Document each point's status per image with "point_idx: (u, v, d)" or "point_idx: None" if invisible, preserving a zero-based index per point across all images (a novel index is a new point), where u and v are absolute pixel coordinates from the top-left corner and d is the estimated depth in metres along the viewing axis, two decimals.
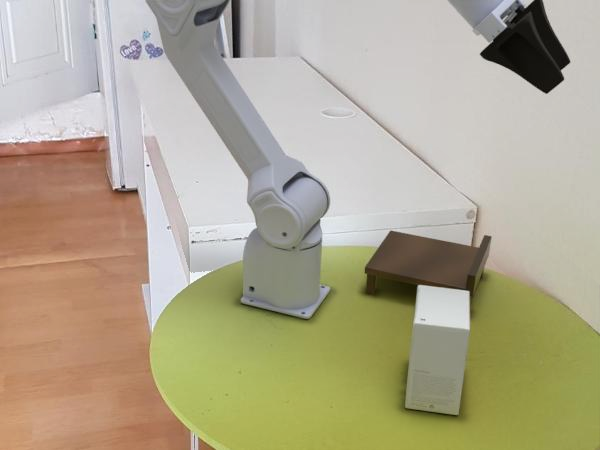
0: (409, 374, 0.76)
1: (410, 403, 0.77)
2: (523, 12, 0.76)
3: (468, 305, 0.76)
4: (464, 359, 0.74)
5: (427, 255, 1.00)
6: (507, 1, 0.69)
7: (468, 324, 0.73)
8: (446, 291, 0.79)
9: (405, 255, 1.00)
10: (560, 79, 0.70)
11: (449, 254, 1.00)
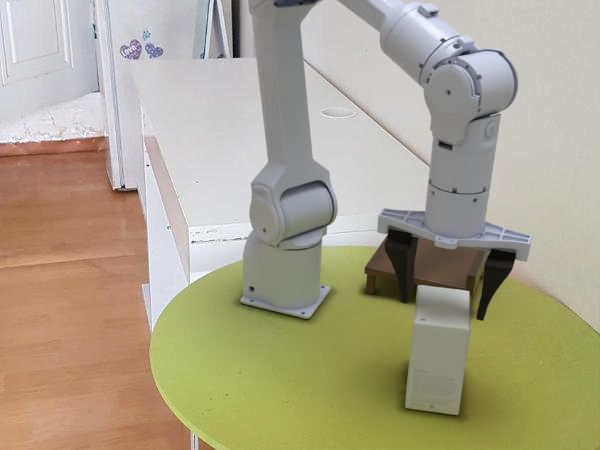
0: (409, 374, 0.76)
1: (410, 403, 0.77)
2: (488, 257, 0.71)
3: (468, 305, 0.76)
4: (464, 359, 0.74)
5: (427, 255, 1.00)
6: (410, 228, 0.72)
7: (468, 324, 0.73)
8: (446, 291, 0.79)
9: None
10: None
11: (449, 254, 1.00)
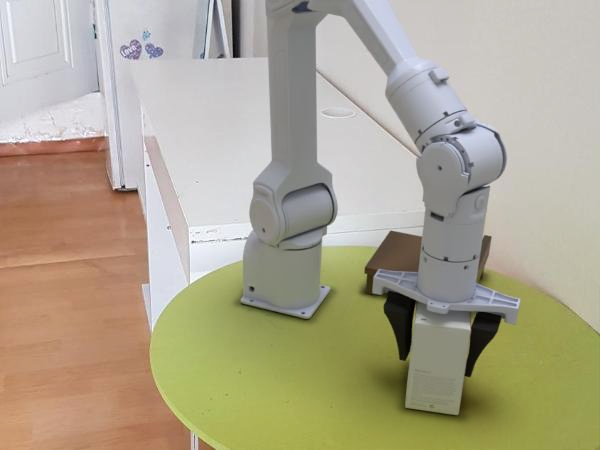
0: (409, 374, 0.76)
1: (410, 403, 0.77)
2: None
3: None
4: (464, 359, 0.74)
5: None
6: (404, 290, 0.75)
7: (469, 324, 0.73)
8: None
9: (405, 255, 1.00)
10: None
11: None
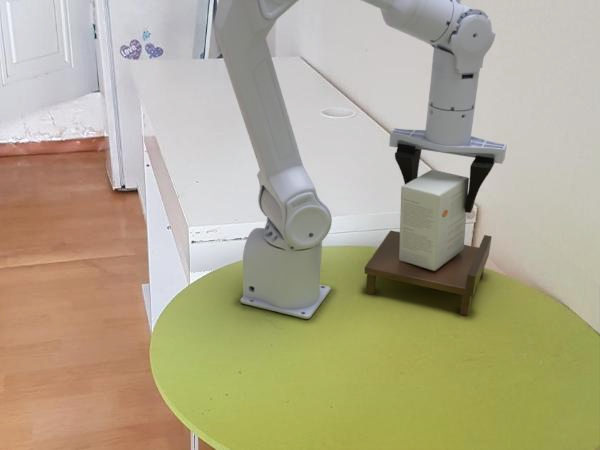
0: None
1: None
2: None
3: (414, 179, 0.96)
4: None
5: None
6: (479, 140, 0.96)
7: (429, 171, 0.99)
8: (421, 187, 0.93)
9: None
10: None
11: None
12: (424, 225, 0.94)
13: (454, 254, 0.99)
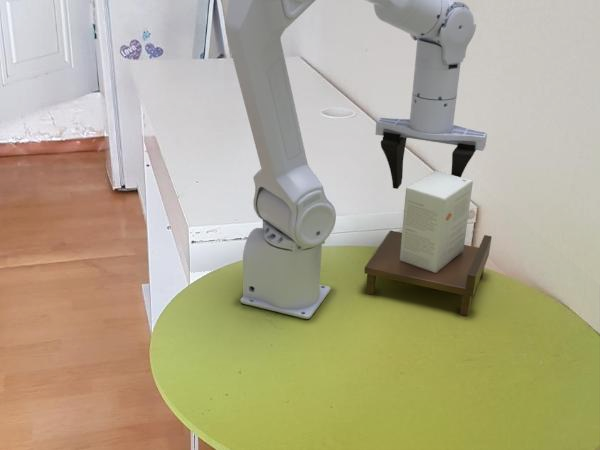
0: (466, 222, 0.99)
1: None
2: (403, 136, 1.02)
3: (419, 180, 0.96)
4: None
5: None
6: None
7: (433, 172, 0.99)
8: (426, 190, 0.93)
9: None
10: None
11: None
12: (427, 227, 0.94)
13: (454, 256, 0.99)
